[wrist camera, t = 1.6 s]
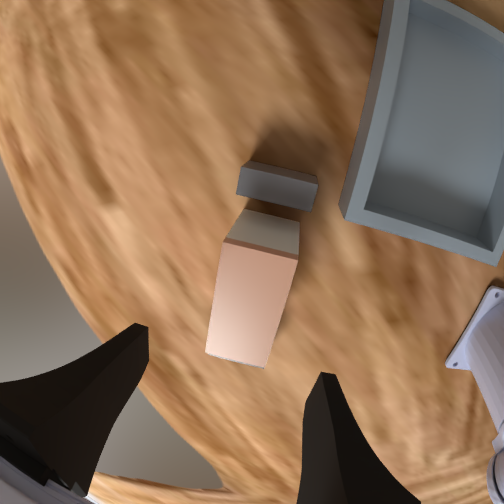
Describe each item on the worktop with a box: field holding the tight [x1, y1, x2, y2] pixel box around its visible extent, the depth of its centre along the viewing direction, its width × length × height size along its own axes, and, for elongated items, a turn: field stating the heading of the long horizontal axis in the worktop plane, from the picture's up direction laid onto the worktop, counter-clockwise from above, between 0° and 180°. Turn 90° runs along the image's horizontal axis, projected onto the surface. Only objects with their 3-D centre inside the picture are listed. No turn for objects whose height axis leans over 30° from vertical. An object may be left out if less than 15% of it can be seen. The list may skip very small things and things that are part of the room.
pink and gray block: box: [205, 209, 300, 368], centre depth 18 cm, size 4×7×6 cm, turn 169°
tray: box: [338, 0, 504, 267], centre depth 14 cm, size 11×14×3 cm
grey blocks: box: [208, 160, 318, 369], centre depth 19 cm, size 4×13×2 cm, turn 169°
